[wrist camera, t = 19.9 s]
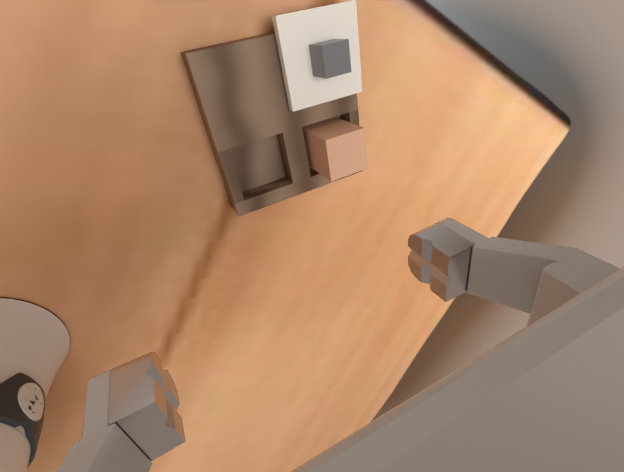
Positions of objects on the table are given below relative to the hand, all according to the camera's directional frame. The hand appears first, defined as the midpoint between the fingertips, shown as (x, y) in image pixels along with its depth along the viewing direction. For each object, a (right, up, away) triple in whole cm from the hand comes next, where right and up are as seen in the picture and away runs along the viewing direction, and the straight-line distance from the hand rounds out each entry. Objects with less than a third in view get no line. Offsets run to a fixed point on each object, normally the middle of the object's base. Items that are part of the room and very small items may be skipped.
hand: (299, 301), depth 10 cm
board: (-4, +17, +32) cm, 36 cm away
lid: (+1, +21, +27) cm, 35 cm away
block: (+1, +14, +35) cm, 38 cm away
